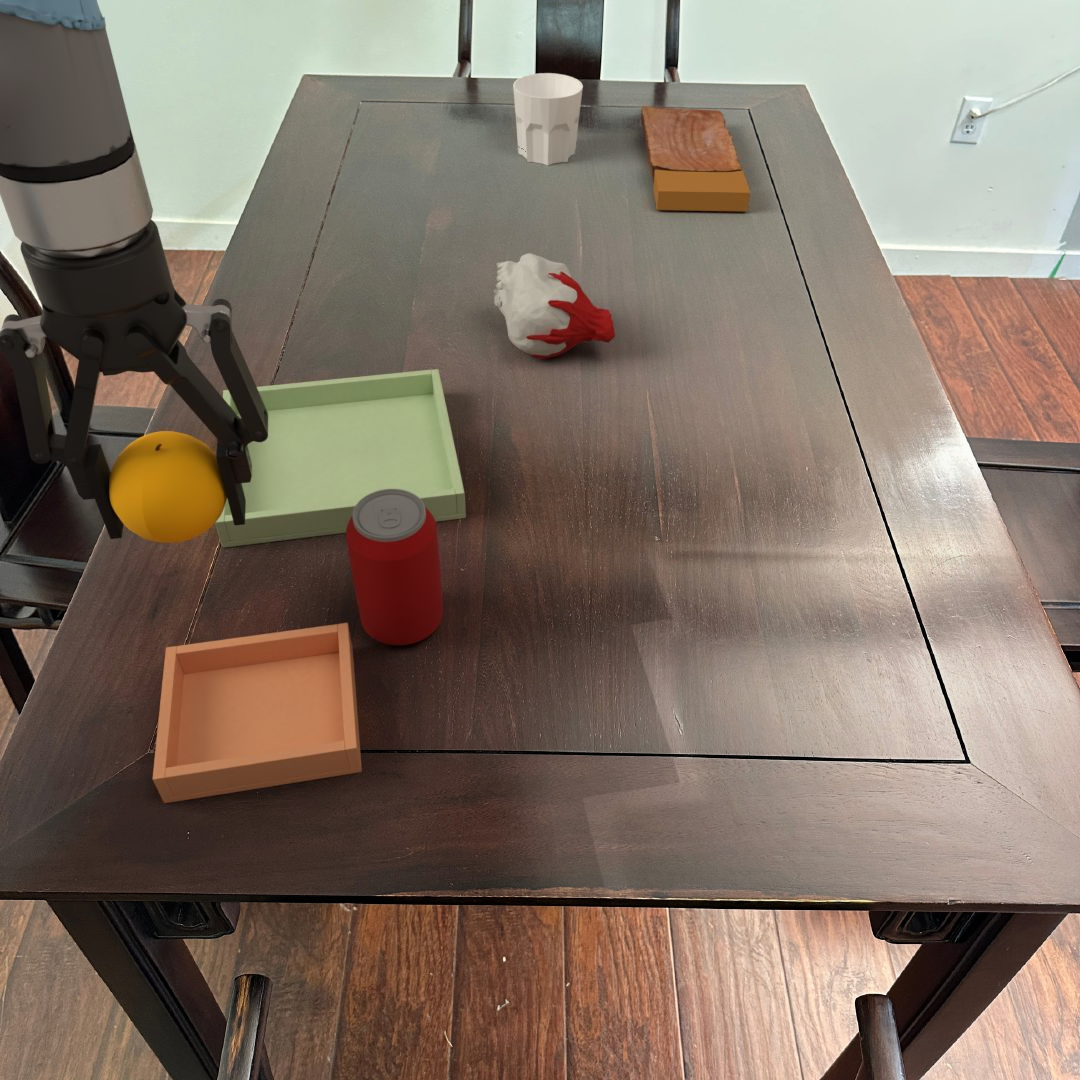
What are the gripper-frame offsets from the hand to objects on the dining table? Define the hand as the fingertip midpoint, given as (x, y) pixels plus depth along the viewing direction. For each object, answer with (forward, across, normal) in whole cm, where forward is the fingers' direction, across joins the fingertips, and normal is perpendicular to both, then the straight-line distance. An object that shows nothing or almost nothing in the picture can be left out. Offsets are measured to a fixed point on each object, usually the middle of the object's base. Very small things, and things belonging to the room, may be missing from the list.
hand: (179, 519), depth 71 cm
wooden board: (+10, -65, -78) cm, 102 cm away
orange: (+1, 0, 0) cm, 1 cm away
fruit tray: (+11, -11, -18) cm, 24 cm away
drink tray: (+11, -4, +11) cm, 16 cm away
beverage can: (+11, -15, +3) cm, 19 cm away
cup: (+10, -45, -86) cm, 98 cm away
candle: (+11, -35, -35) cm, 51 cm away
